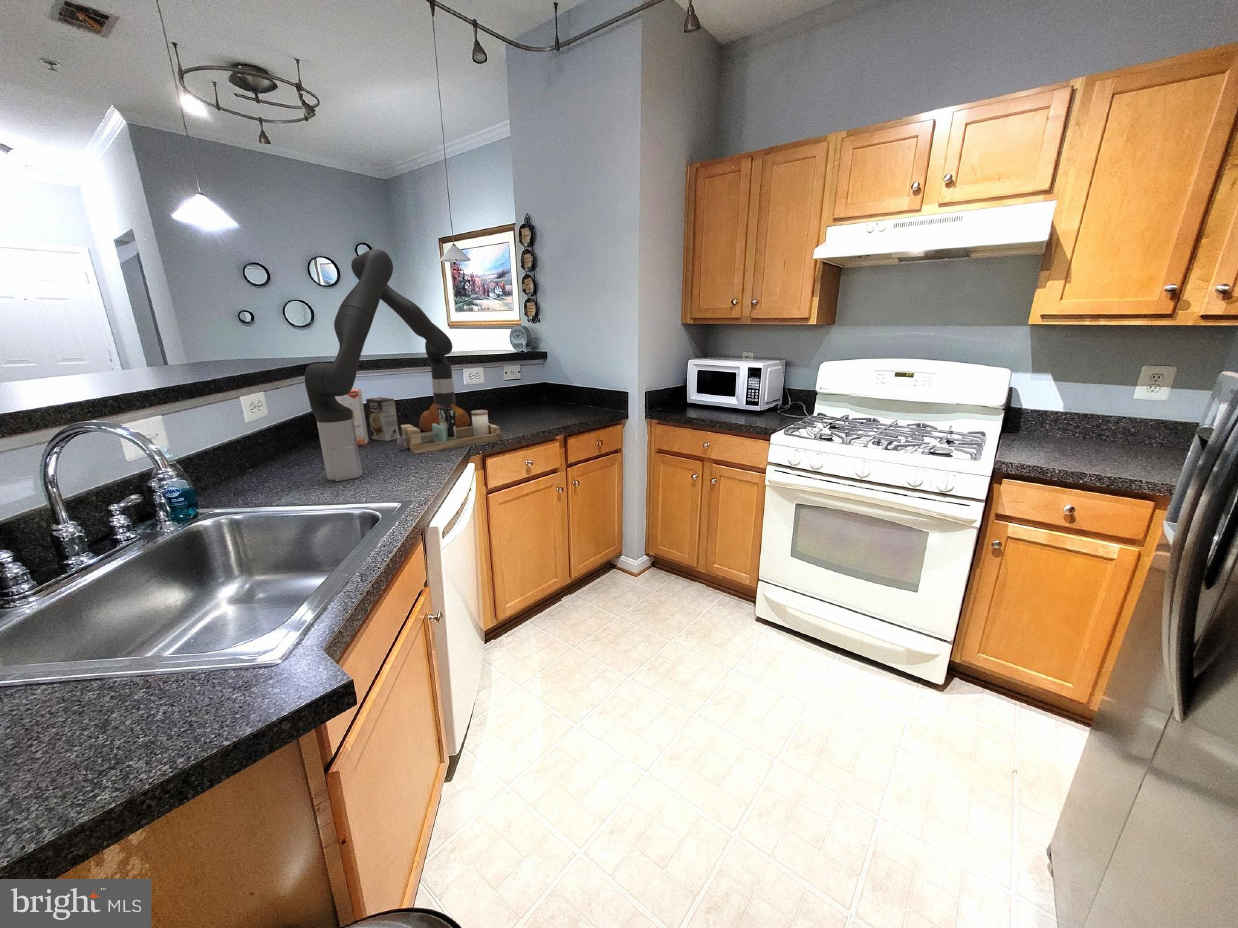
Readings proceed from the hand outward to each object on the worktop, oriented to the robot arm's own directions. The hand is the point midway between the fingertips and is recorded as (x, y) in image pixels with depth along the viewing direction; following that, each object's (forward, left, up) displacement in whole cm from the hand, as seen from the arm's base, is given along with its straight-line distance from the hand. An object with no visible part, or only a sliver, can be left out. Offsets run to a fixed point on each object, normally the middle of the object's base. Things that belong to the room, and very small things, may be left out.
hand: (448, 435), depth 182 cm
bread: (+32, -9, -4) cm, 33 cm away
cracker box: (+24, +31, -3) cm, 39 cm away
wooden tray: (0, -2, -3) cm, 4 cm away
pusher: (0, +10, -3) cm, 11 cm away
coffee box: (+26, +17, -3) cm, 31 cm away
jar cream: (0, -13, -3) cm, 13 cm away
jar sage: (0, 0, -2) cm, 2 cm away
